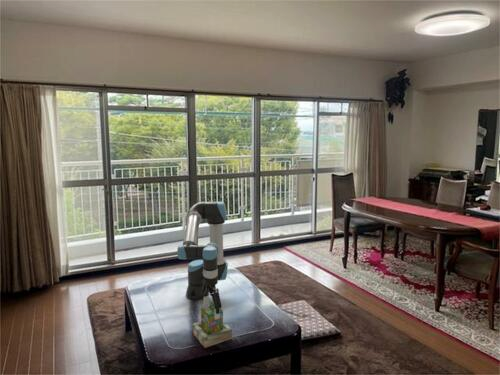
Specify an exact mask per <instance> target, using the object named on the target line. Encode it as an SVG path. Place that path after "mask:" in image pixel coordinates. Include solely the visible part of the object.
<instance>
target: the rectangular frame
mask: <svg viewBox="0 0 500 375" xmlns="http://www.w3.org/2000/svg"><path fill="white" fill-rule="evenodd" d="M192 334H193V335H194V337H196V339H197V341H199V343H200V344H201V345H202V346H203V348H204V349H206V348H208V347H211V346H214V345H217V344H220V343H222V342H227V341H229V340H231V339H233V329H232V328H231V327H230V326H229V325H228V323H227V322H225V320H223V330H221V331H218V332H215V333H212V334H209V335H208V334H207V333H206V332H205V331H204V330H203V329H202V328H201V320H200V321H198V322H194V323H192Z"/></svg>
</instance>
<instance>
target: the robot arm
mask: <svg viewBox="0 0 500 375" xmlns="http://www.w3.org/2000/svg"><path fill="white" fill-rule="evenodd" d="M227 215H228V214H227V208H226V204H225V202H224V201H199V202H197V203H194V204H193V205H192V206H191V207H190V208H189V209H188V210H187V214H186V216H185V217H186V218H185V220H186V224H185V225H186V226H185V231H184V235H183V236H184V237H183V242H182V244H181V245H178V246H177V251H176V253H177V258H178V259H179V260H192V261H191V262H189V263H188V265H187V278H188V279H187V280H188V281H187V282H188V284H187V287H186V291H185V297H186V298H187V299H190V300H193V301H194V300H195V301H198V300H203V308H205V307H208V306H210V302H209V301H210V300H209V296H210V297H211V298H212V301H213V302H212V303H214V306H215V307H214V319H215V320H216V319H219V318H220V309H222V307H223V306H222V303H221V302H222V300H221V296H220V291H219V288H216V285H217V284H218V283H219V282H218V281H225V280H227V274H228V267H229V263H228V262H227V261H226V259H225V258H224V230H223V228H224V227H223V225H224V224H225V223H226V220H228V216H227ZM202 221H206V223H207V224H208V225H209V242H208V243H207V244H197V243H198V234H199V229H200V223H202Z"/></svg>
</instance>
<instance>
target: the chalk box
mask: <svg viewBox="0 0 500 375" xmlns="http://www.w3.org/2000/svg"><path fill="white" fill-rule="evenodd" d="M214 307H215V306H214V302H212V301H210V303H209V306H208V307H205V308H204V307H202V308H200V321H201V328H202V329H203V330H204V331H205V332H206V333H207V334H208V335H209V334H212V333H215V332H218V331H221V330H223V321H224V310H223V309H222V308H220V318H219V319H216V320H215V319H214Z"/></svg>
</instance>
